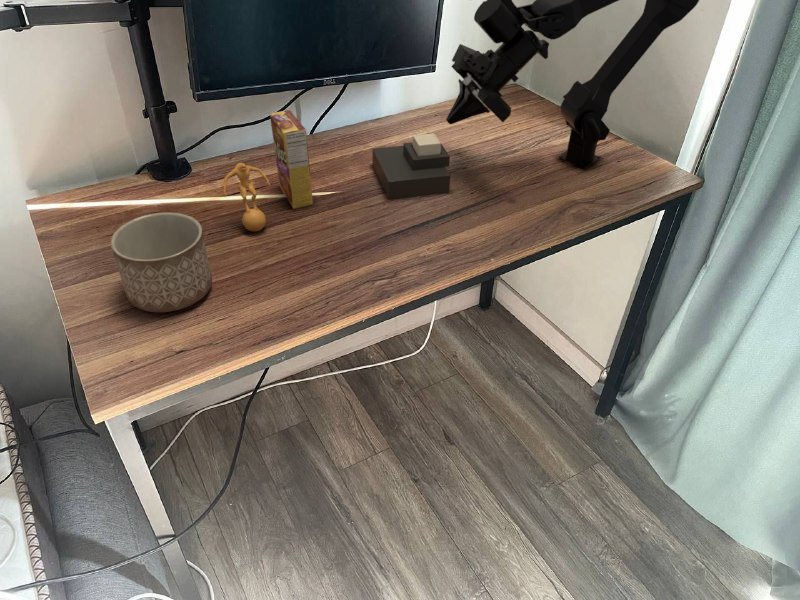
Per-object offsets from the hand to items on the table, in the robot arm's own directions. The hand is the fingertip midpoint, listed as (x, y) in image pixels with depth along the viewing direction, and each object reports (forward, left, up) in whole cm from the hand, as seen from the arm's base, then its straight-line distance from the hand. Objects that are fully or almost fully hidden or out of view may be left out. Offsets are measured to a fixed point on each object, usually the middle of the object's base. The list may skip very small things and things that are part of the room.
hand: (448, 122), depth 126 cm
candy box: (+27, -14, -11) cm, 32 cm away
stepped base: (+6, -4, -11) cm, 13 cm away
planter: (+59, -5, -11) cm, 60 cm away
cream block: (+3, -2, -6) cm, 7 cm away
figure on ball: (+39, -11, -11) cm, 42 cm away
